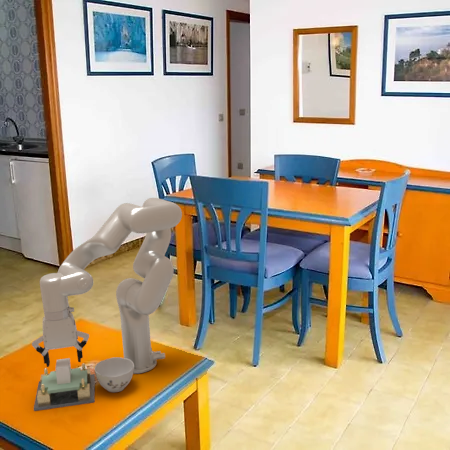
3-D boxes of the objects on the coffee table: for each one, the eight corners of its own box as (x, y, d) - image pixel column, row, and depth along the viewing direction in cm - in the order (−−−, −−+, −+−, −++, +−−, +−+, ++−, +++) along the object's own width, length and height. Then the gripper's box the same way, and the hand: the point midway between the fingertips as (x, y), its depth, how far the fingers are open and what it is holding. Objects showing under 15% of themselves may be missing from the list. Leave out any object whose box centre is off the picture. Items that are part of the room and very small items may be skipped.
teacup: (134, 396, 178) (132, 374, 176) (94, 400, 177) (92, 377, 174) (136, 372, 192) (134, 351, 190) (99, 376, 191) (97, 354, 189)
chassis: (94, 376, 191) (92, 357, 189) (94, 402, 175) (92, 382, 174) (39, 384, 187) (36, 365, 185) (34, 410, 172) (31, 390, 170)
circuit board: (87, 369, 187) (85, 351, 186) (86, 388, 176) (85, 369, 174) (43, 375, 185) (41, 357, 183) (40, 394, 173) (37, 375, 172)
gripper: (85, 304, 179) (92, 353, 184) (29, 312, 176) (36, 361, 181) (85, 314, 172) (91, 364, 177) (26, 322, 169) (34, 372, 174)
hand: (64, 362), depth 179 cm, fingers open, 9 cm apart
